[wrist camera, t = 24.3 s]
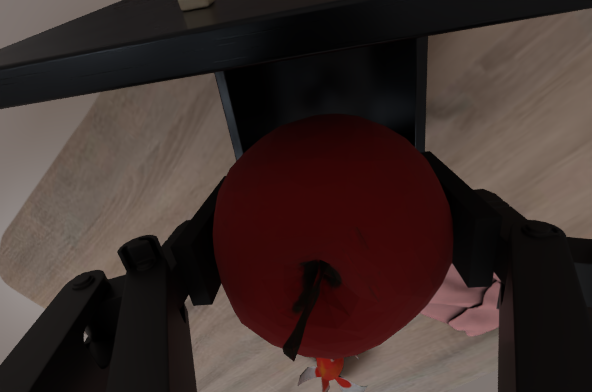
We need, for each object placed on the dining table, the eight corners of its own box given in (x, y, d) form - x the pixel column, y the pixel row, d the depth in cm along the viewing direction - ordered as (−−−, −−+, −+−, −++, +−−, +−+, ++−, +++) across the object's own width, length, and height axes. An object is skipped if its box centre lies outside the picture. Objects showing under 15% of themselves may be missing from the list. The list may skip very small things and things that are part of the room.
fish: (386, 343, 44) (367, 420, 38) (368, 363, 56) (352, 424, 51) (318, 313, 47) (291, 380, 41) (315, 338, 59) (294, 393, 54)
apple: (357, 276, 19) (392, 485, 10) (220, 221, 18) (117, 400, 9) (448, 144, 15) (649, 292, 6) (278, 64, 14) (200, 91, 5)
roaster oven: (393, 150, 36) (423, 191, 26) (268, 166, 38) (248, 210, 28) (389, -24, 29) (431, -68, 18) (235, 7, 31) (191, -17, 20)
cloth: (473, 344, 49) (480, 358, 47) (367, 285, 46) (369, 297, 43) (586, 263, 41) (601, 275, 39) (468, 182, 37) (477, 190, 35)
